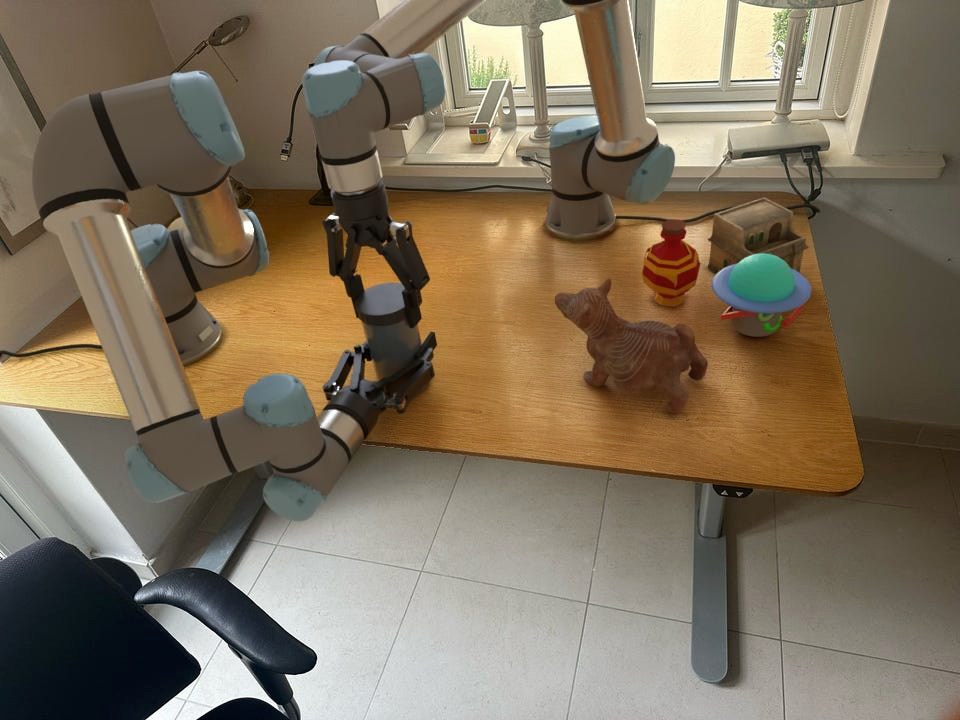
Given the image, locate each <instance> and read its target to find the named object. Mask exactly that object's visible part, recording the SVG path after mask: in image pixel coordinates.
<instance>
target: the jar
mask: <svg viewBox="0 0 960 720" xmlns="http://www.w3.org/2000/svg"><path fill="white" fill-rule="evenodd" d="M360 321H361V320H360ZM361 326H362V328H363V332H364V336H365V341H366V340H367V344H368V348H369V351H370V355H371V359H372V360H371V362H372V366H373V368H374V372H375V373H374V374H375V377H376V380H377V381H376V382H378V381H379V380H381V379H382V378H384V377H386V378H388V377H390V376H391V375H393V374H394V373H396V372H397V371H399V370H400V369H402V368H404V367H405V366H407V365H408V364H410V363H411V362H413V361H414V360H415V357H414V355H415V354H416V352H417V351H418V349H419V348H420V346H421V345H422V343H423V341H422V337H421V333H420V332H421V331H420V328H419V323H418V324H417V325H416V326H415V327H414V328H409V323H408V319H407V318H406V319H404V320H402V321H400V322H398V323H395V324H392V325H387V326H371V325H367V324H365V323H363V322H362V321H361ZM427 386H428V384H427V385H426V386H425V387H424V388H423V389H422V390H421V391H420V392H419V393H418V394H420V393H421V392H423V391H424V390H425V389H426V388H427ZM384 390H385V388H384ZM397 392H398V391H397ZM397 392H396V393H397Z"/></svg>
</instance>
